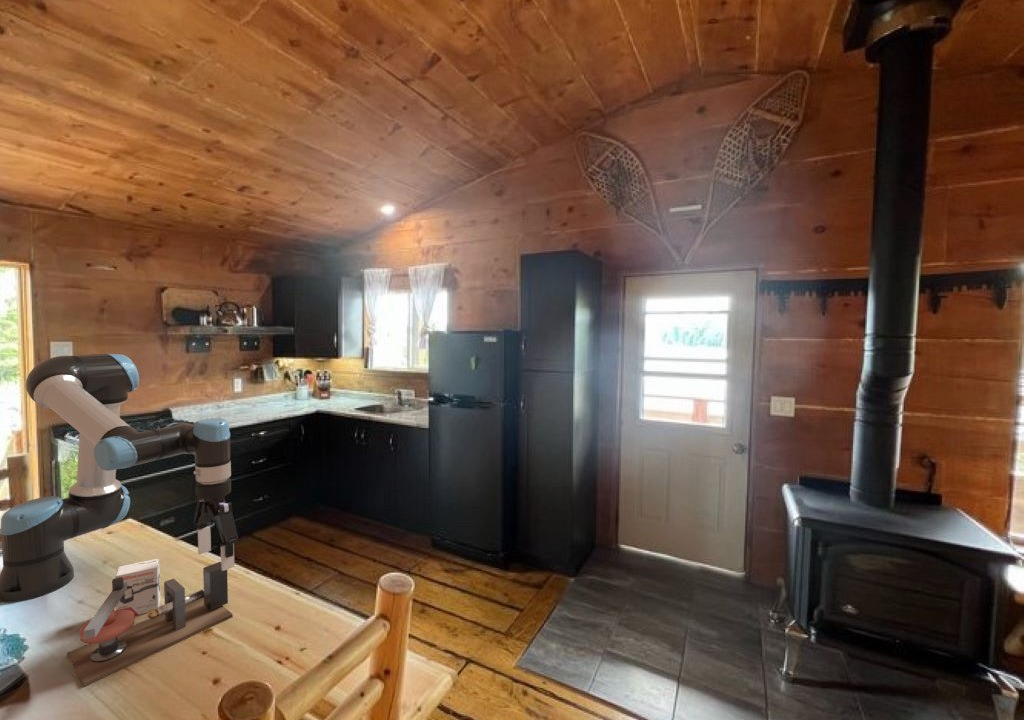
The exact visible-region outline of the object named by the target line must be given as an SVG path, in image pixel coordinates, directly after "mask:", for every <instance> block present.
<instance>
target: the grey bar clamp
mask: <svg viewBox="0 0 1024 720" xmlns="http://www.w3.org/2000/svg"><path fill="white" fill-rule="evenodd" d="M202 572H203V589H200V590H198V591H195V592H192V593H190V594H187V595H185V605H187V604H189V603H192V602H194V601H197V600H199V599H201V598H204V605H205V606H206V607H207V608H208V609H209V610H214V609H216V608H218V607H220V606H225V605H227V604H229V594H228V593H229V591H228V589H229V587H228V586H229V585H228V569H227V570H224V571H222V570H221V561H218V562H215V563H212V564H210V565H208V566H204V567H203V570H202ZM170 611H173V601H172V602H170V603H167V604H165V603H164V604H163V605H159V607H158V608H154V609H152V610H150V611H149V612H148V613H147V617H148V619H155V618H156V617H158V616H160V615H163V614H165V613H168V612H170Z"/></svg>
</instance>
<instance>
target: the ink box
mask: <svg viewBox="0 0 1024 720" xmlns="http://www.w3.org/2000/svg"><path fill="white" fill-rule="evenodd" d="M160 574H161V570H160V559H159V558H153V559H148V560H145V561H138V562H135V563H130V564H129V563H128V564H125V565H121V566H118V567H117V569H116V572H115V576H114V579H115V578H118V577H123V580H124V582H127V590H126V592H125V593H124V595H123V596H122V598H121V599H120V601H119V602H118V604H117V605H116V607H115V611H117V610H130V611H132V612H133V613H134V617H135V616H139V615H143V614H146V613H147V614H148V613H149V611H150V610H152V609H154V608H158V607H160V606H161V605H160V604H161V575H160Z"/></svg>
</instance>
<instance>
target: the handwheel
mask: <svg viewBox="0 0 1024 720" xmlns="http://www.w3.org/2000/svg"><path fill="white" fill-rule="evenodd" d="M111 584H112V587H111V589H112V590H111V592H110V594H108V596H107V598H106V599H105V600H104V602H103V603H102V604H101V605H100V607H99V608H98V609H97V611H96V613H95V614H94V616H93V617H92V618H91V619H90V620H88V621H87V622H85V623H84V624H83V625H82V626H81V627H80V629H79V640H80V642H81V643H83V644H86V645H87V644H93V643H100V642H104V641H107V640H110V639H113V638H115V637H118V636H120V635H121V634H123V633H125V632H126V631H128V630H129V629H130V628H131V627H132V626H133V625H135V616H134V613H133V612H132V611H130V610H117V611H116V605H117V604H118V602H119V601H120V599H121V598H122V596H123V595H124V593H125V592H126V590H127V582H124V580H123V577H118V578H115V577H114V579H112V581H111Z"/></svg>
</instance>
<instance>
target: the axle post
mask: <svg viewBox="0 0 1024 720" xmlns="http://www.w3.org/2000/svg"><path fill="white" fill-rule="evenodd" d="M126 647H127V644H126V642H125V641H118V637H115V638H113V639H110V640H107V641H104V642H100V643H99V647H98V648H97V649H95V650H94V651H93V652H92V653H91V656H90V659H91V661H92V662H97V663H98V662H104V661H108V660H111V659H113V658H115V657H117V656H119V655H120V654H122V653H123V652H124V651H125V650H126Z"/></svg>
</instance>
